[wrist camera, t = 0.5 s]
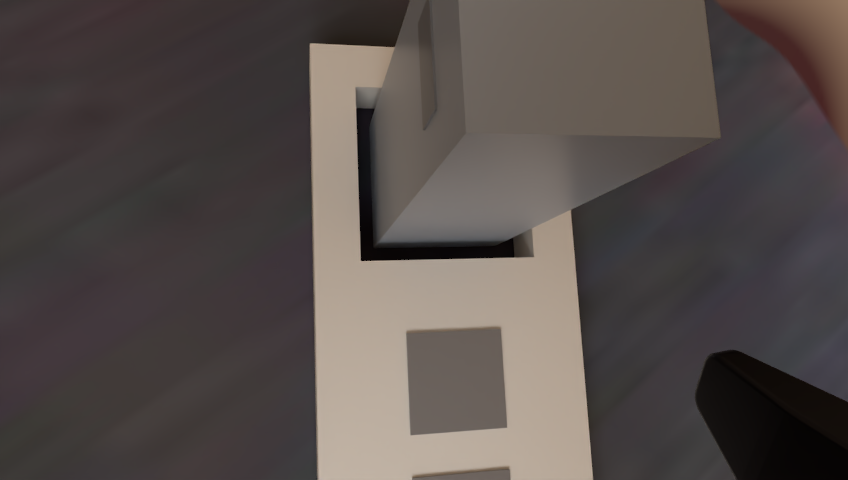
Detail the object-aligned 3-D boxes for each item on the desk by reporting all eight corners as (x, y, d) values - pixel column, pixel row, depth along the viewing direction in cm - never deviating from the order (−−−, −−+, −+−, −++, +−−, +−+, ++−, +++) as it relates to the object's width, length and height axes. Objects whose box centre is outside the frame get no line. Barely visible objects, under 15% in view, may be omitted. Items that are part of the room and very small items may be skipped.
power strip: (585, 693, 22) (626, 744, 19) (321, 739, 20) (325, 803, 17) (537, 77, 25) (567, 44, 22) (309, 68, 23) (310, 32, 20)
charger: (496, 246, 23) (723, 138, 11) (371, 248, 23) (462, 133, 10) (488, 129, 24) (694, -101, 12) (367, 126, 23) (448, -127, 11)
